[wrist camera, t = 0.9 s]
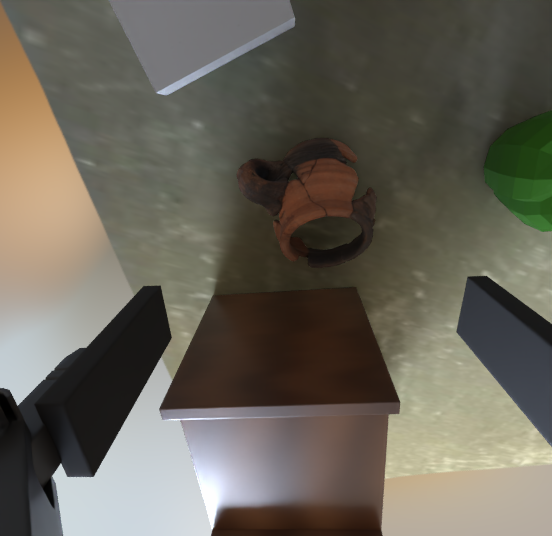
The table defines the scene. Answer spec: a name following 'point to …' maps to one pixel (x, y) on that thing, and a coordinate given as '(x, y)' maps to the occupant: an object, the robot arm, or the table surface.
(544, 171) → the bell pepper
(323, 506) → the shelf
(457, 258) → the table surface
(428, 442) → the table surface
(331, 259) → the pottery mug
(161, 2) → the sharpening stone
